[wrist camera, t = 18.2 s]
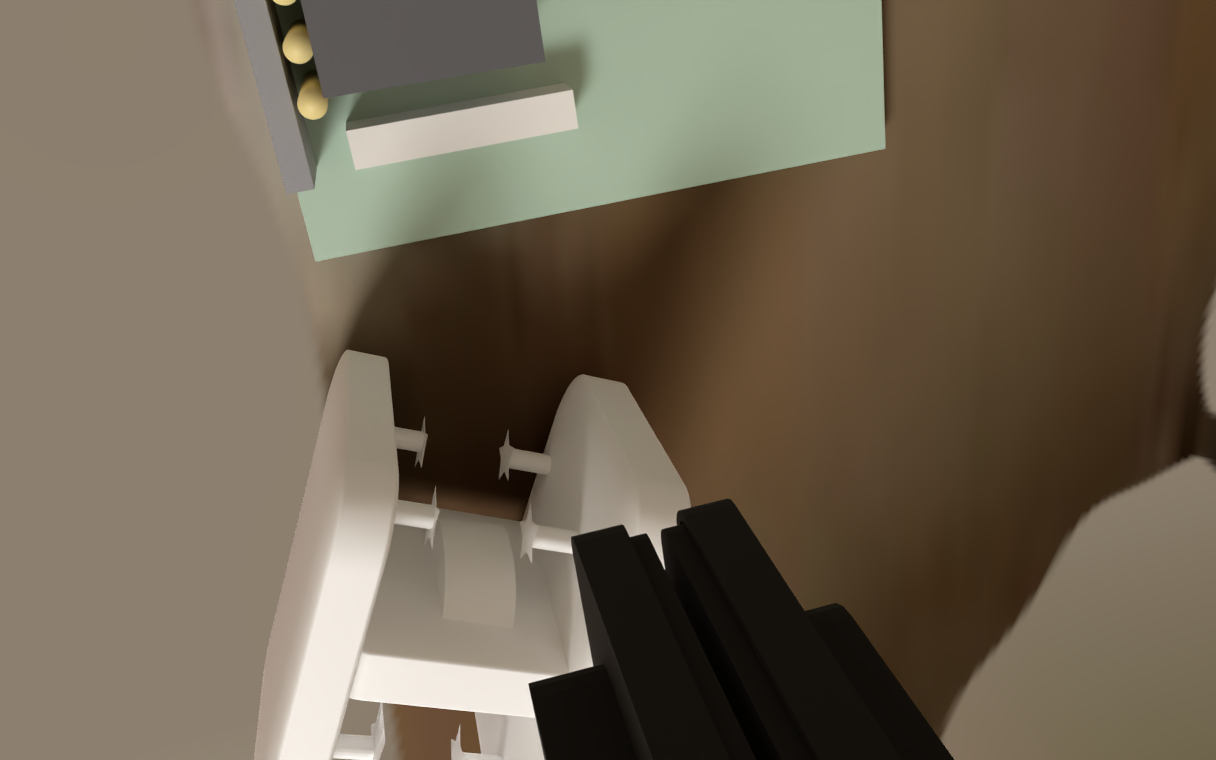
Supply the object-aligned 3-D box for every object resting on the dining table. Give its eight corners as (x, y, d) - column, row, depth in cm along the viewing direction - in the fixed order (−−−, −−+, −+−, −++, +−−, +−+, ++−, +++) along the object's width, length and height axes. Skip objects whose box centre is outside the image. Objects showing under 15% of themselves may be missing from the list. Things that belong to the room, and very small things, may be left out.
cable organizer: (344, 302, 37) (343, 457, 26) (628, 363, 40) (727, 522, 30) (261, 658, 42) (232, 907, 31) (520, 686, 45) (572, 920, 35)
